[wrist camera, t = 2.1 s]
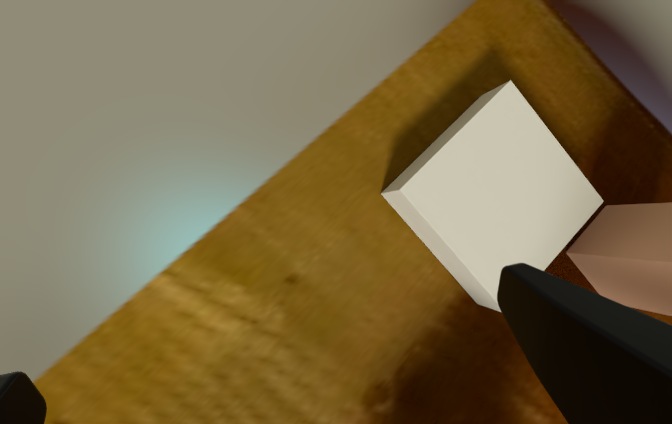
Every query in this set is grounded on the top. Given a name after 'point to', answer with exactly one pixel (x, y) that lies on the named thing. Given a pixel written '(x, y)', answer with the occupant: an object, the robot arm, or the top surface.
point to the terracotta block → (629, 255)
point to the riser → (494, 193)
